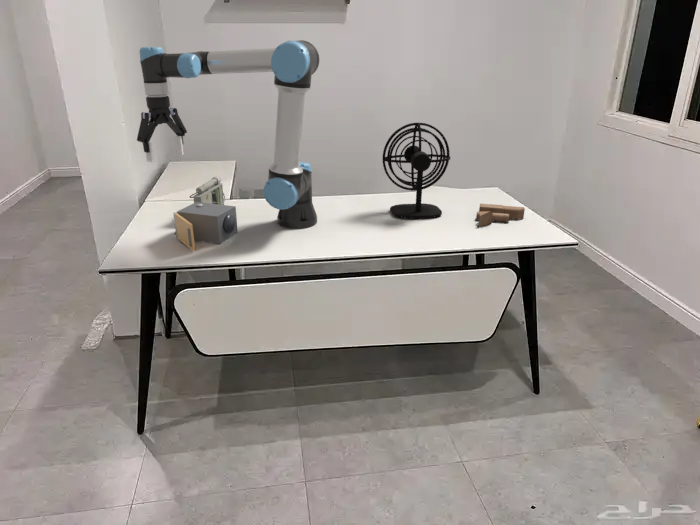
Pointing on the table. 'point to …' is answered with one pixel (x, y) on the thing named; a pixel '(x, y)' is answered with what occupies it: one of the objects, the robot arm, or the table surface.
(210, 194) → the geiger counter
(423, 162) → the desk fan
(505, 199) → the table surface
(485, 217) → the wooden block set
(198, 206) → the camera housing
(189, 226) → the side door
